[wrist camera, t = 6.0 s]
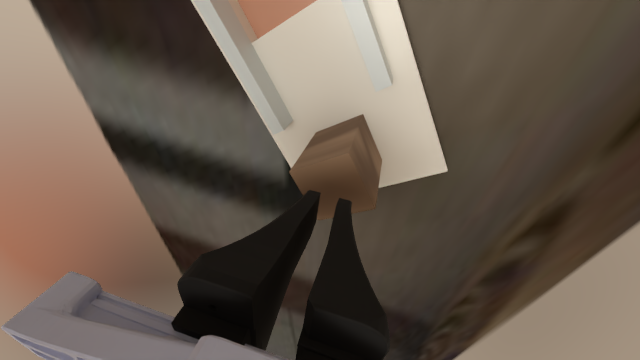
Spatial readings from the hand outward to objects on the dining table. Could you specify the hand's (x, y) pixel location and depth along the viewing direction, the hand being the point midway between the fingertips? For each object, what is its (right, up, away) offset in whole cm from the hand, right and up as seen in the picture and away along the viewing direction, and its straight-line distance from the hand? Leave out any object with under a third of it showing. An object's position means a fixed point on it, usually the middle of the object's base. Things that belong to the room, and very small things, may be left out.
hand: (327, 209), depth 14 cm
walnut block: (+2, +4, +6) cm, 8 cm away
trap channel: (0, +10, +5) cm, 11 cm away
